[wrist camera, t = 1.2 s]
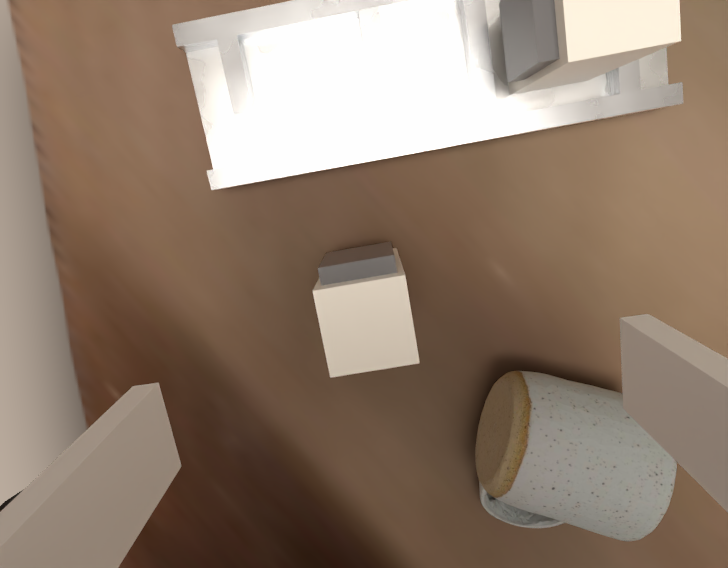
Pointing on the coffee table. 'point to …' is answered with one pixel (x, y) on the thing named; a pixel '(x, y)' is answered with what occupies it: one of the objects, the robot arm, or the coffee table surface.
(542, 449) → the ceramic mug
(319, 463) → the coffee table surface
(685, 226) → the coffee table surface
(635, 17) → the block
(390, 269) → the beige jaw block
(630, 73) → the rail
